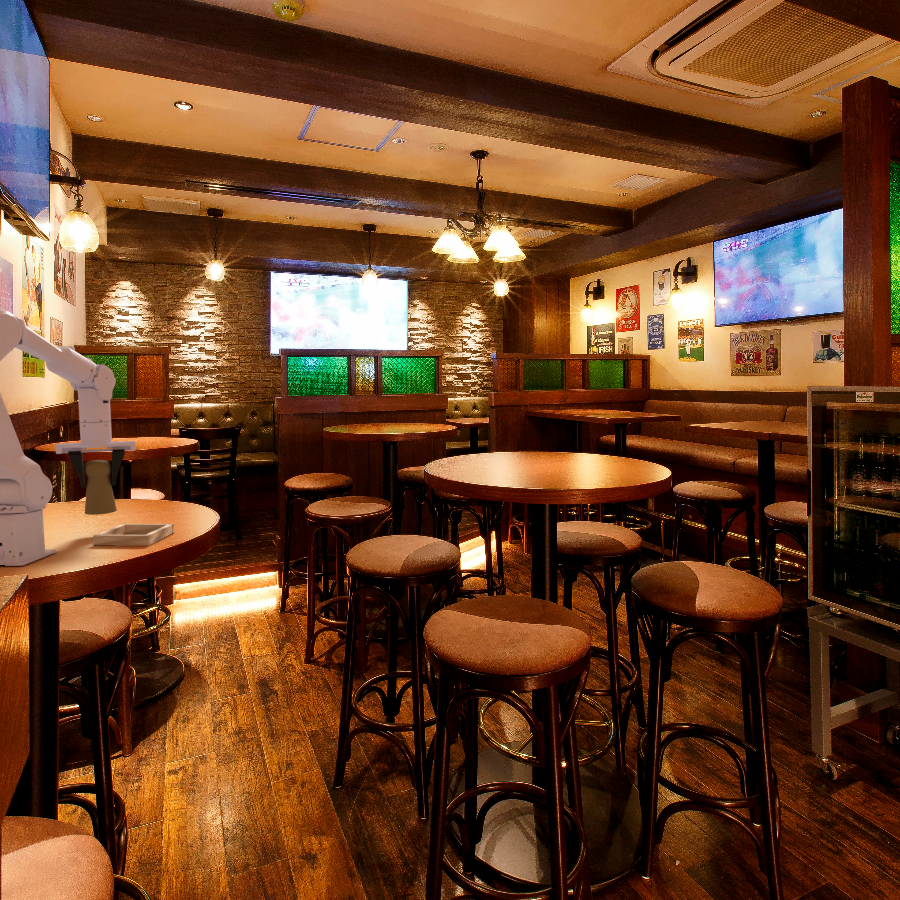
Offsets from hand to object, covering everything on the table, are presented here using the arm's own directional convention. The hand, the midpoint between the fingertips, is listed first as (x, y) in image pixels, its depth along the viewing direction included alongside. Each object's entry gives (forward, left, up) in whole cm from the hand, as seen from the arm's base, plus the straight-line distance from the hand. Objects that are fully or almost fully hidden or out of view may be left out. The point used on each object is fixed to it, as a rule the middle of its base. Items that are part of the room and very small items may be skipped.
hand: (98, 486), depth 131 cm
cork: (0, 0, -6) cm, 6 cm away
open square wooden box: (-4, -10, -10) cm, 15 cm away
